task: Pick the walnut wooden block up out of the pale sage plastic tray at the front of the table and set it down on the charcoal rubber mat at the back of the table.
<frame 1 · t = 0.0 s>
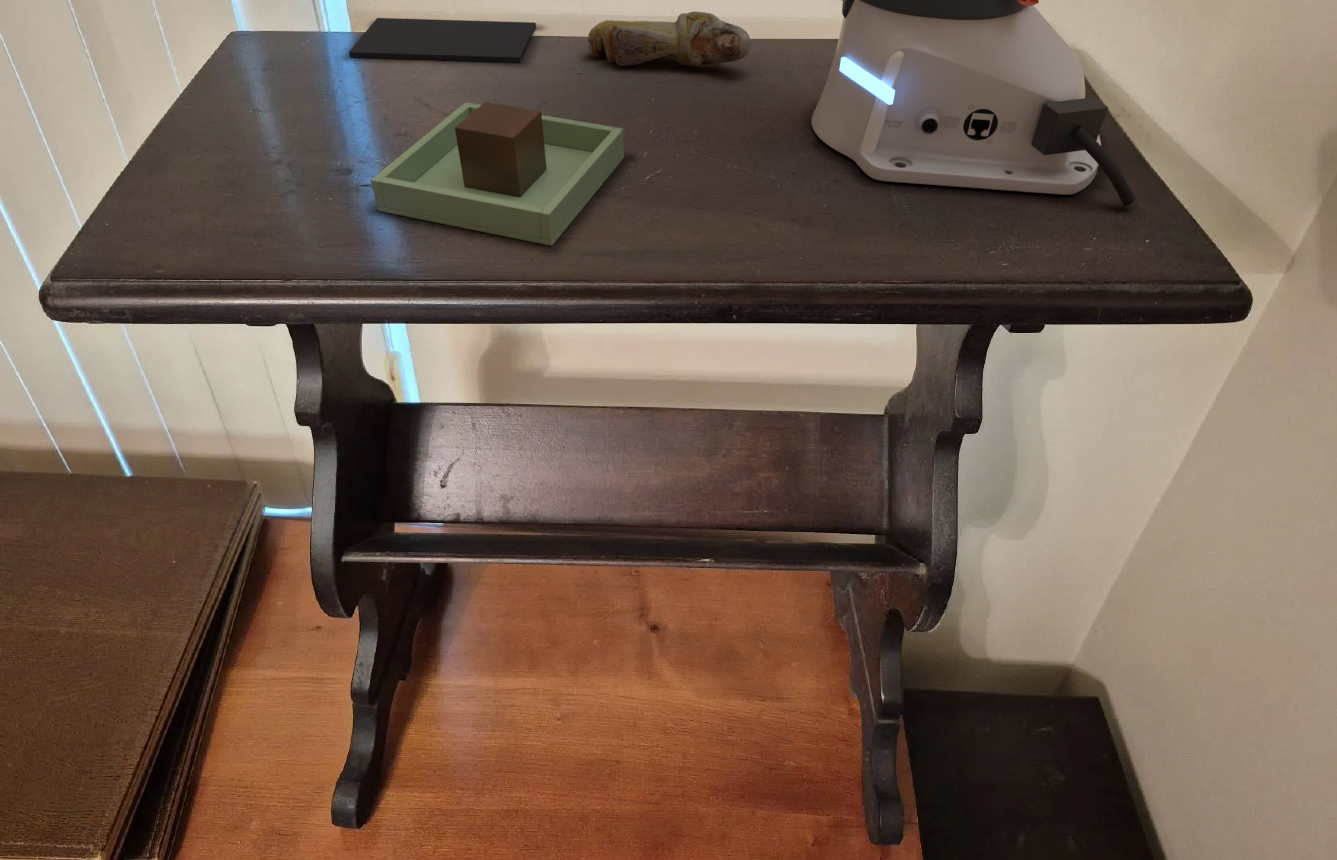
block: (506, 178, 64), resting on tray
figurine: (668, 67, 81), on the table
mat: (446, 41, 85), on the table
tray: (506, 183, 65), on the table
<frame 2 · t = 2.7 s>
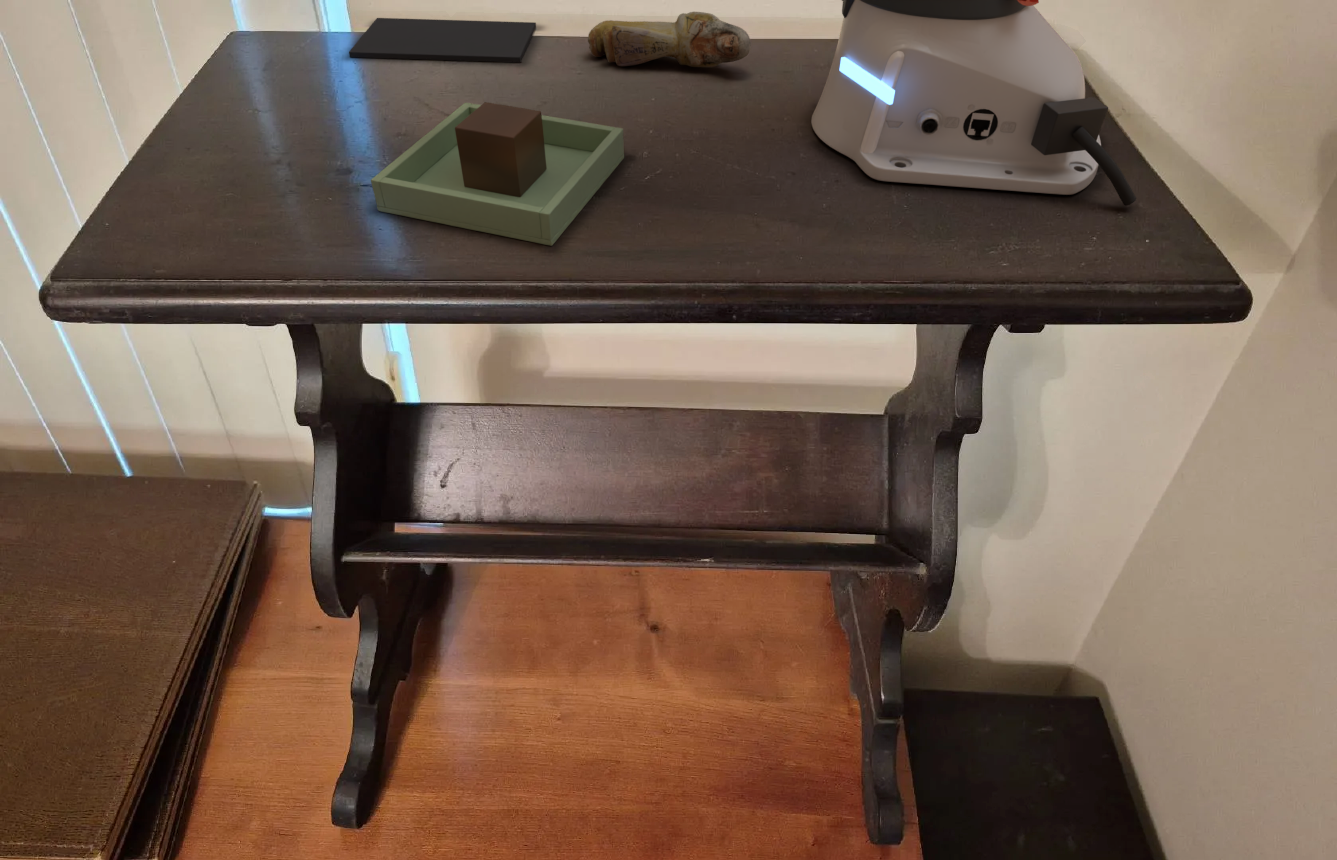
nothing on the table moved.
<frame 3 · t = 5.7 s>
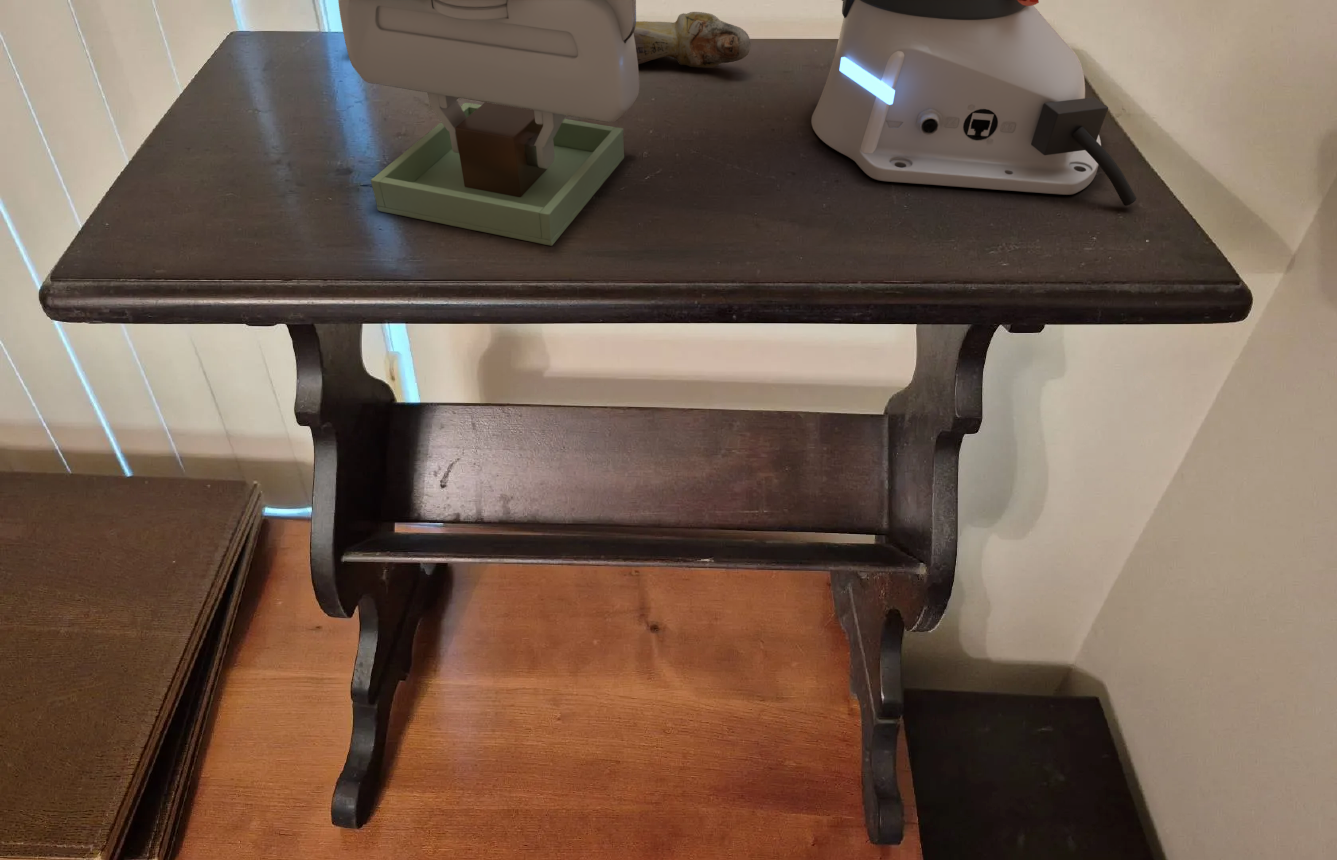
hand: (503, 157, 63), 2 cm above the table, tool pointing down, fingers closed on block, 4 cm apart
block: (506, 178, 64), resting on tray, touching gripper
everything else where it was.
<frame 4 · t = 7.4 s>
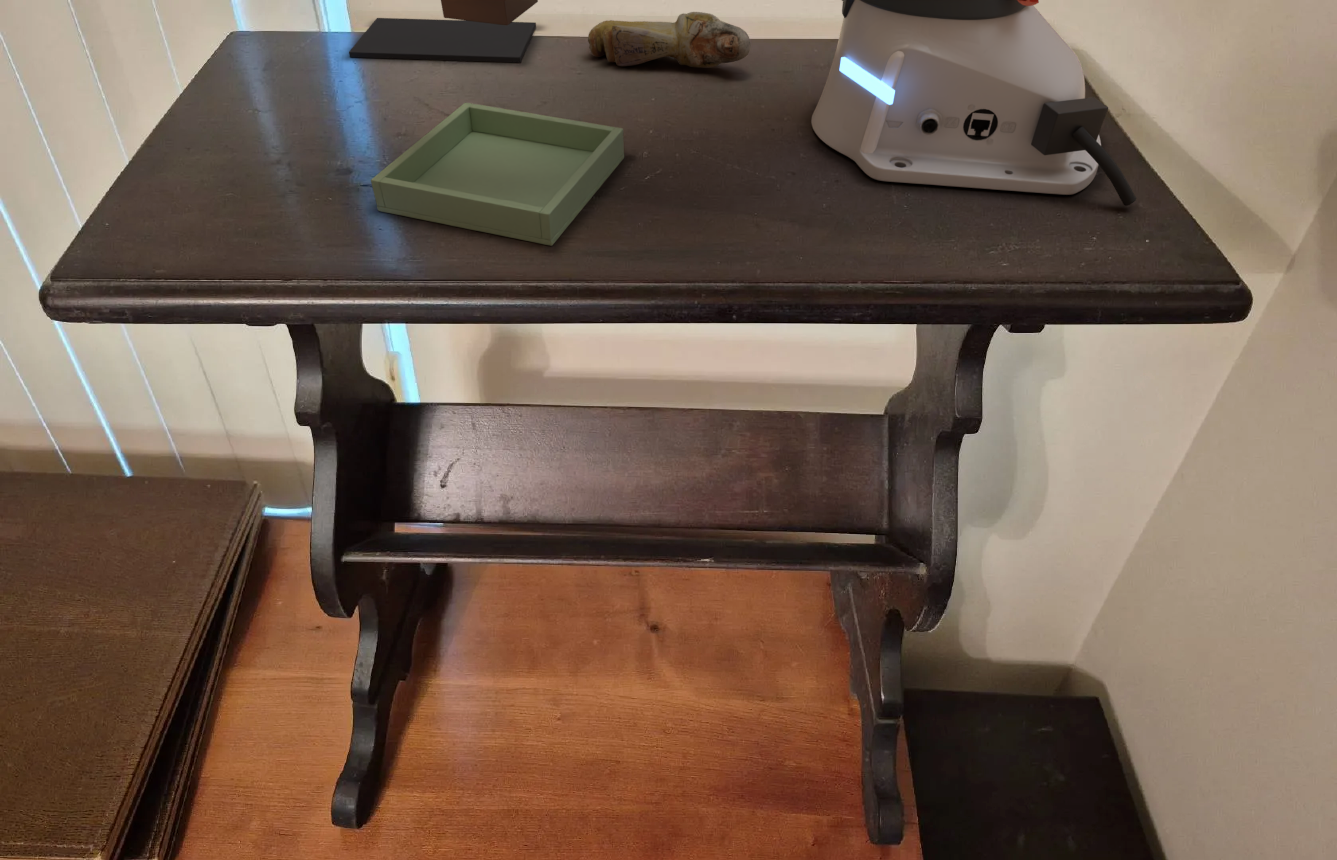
block: (491, 9, 56), point 12 cm above the table, touching gripper
everything else where it was.
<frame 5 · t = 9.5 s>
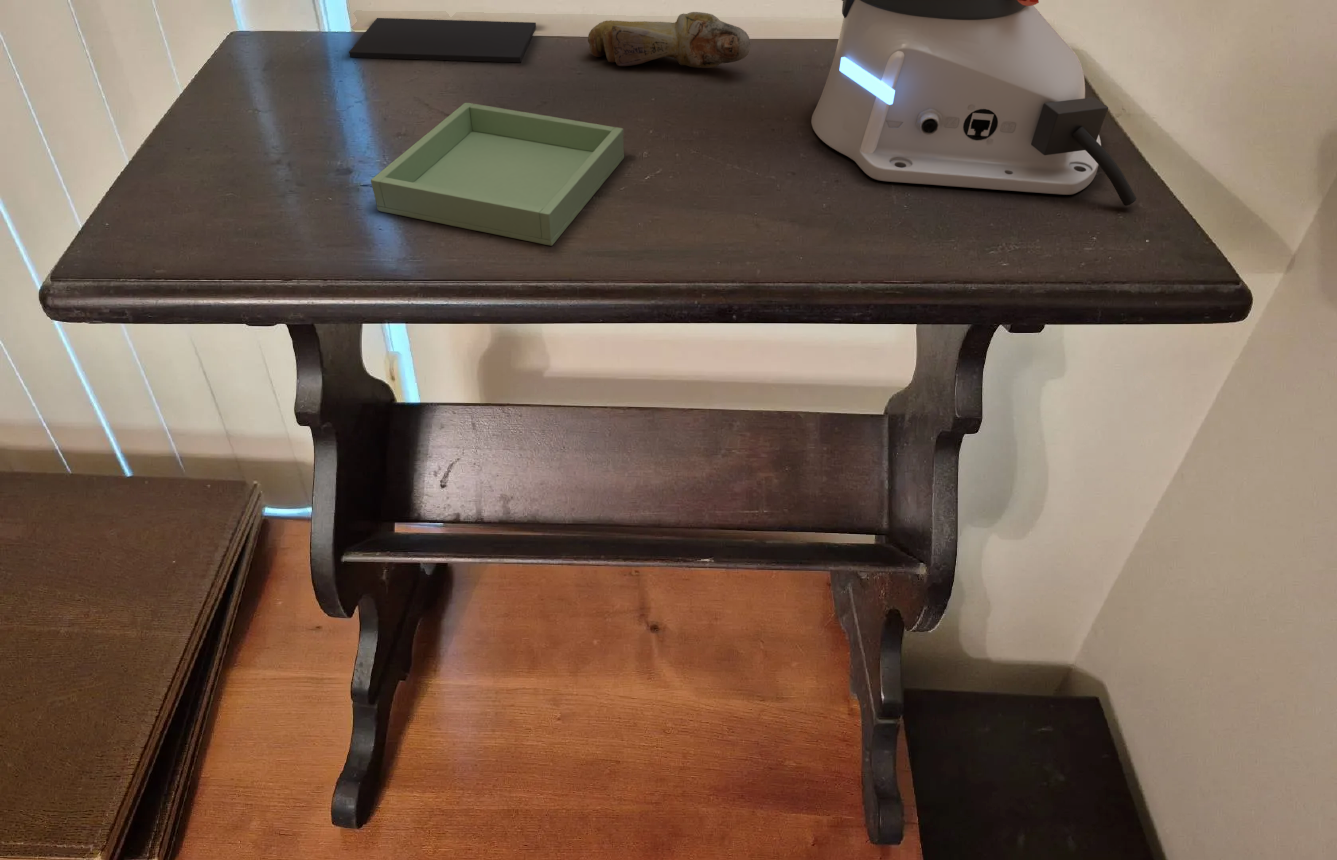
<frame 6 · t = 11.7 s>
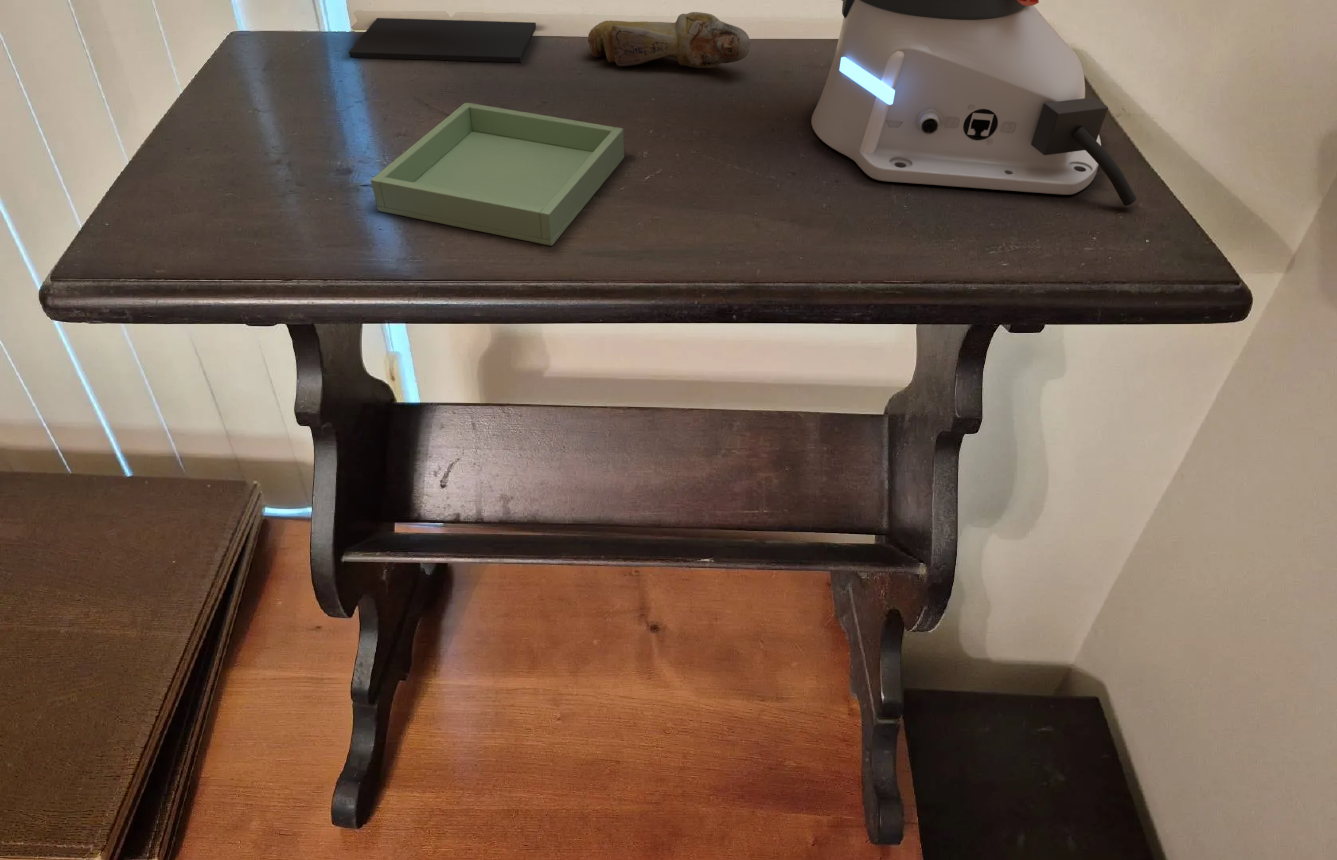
when the fingers open (2 cm above the table, at t = 13.5 s): block stays where it is, resting on mat.
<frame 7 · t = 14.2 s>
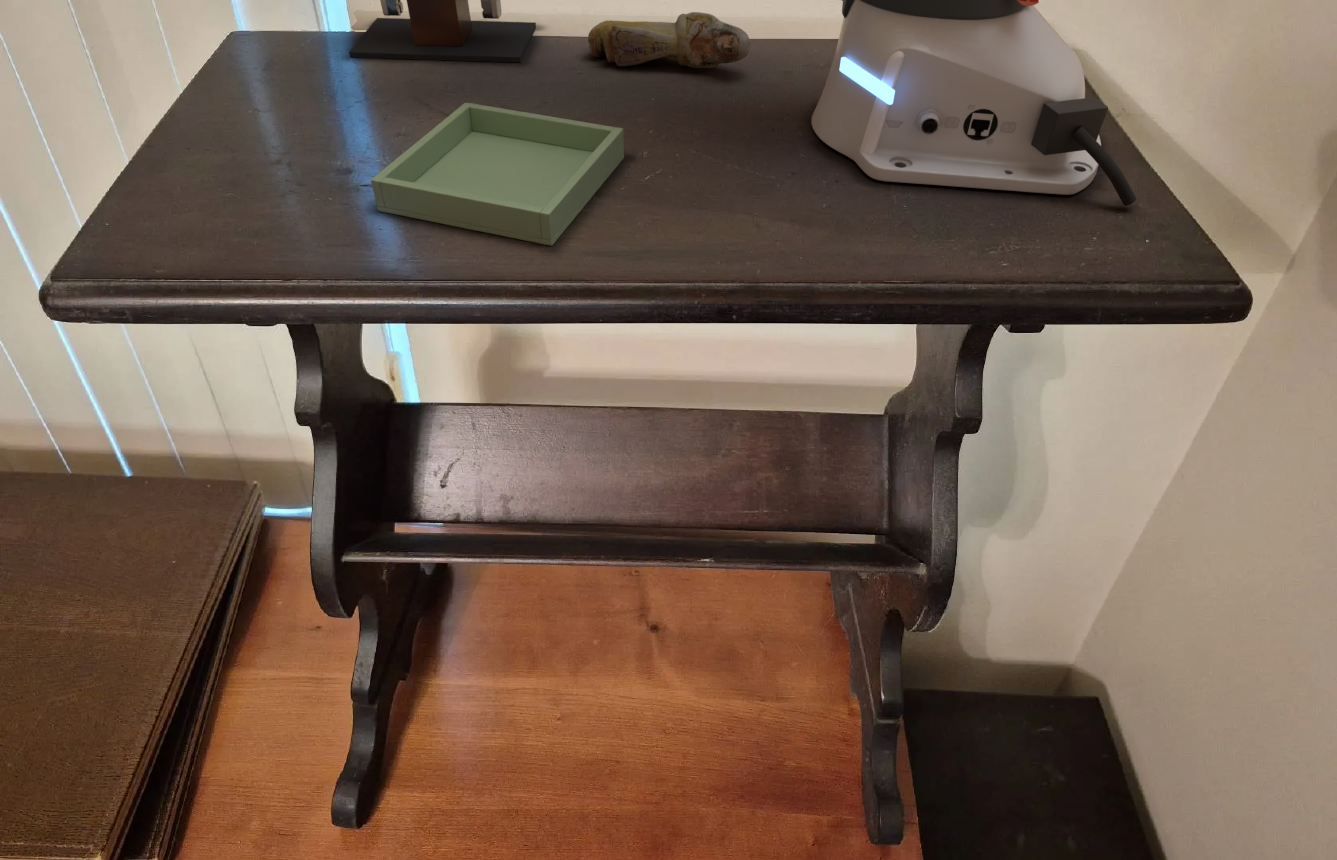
hand: (443, 15, 83), 2 cm above the table, tool pointing down, fingers open, 8 cm apart
block: (444, 37, 84), resting on mat
everything else where it was.
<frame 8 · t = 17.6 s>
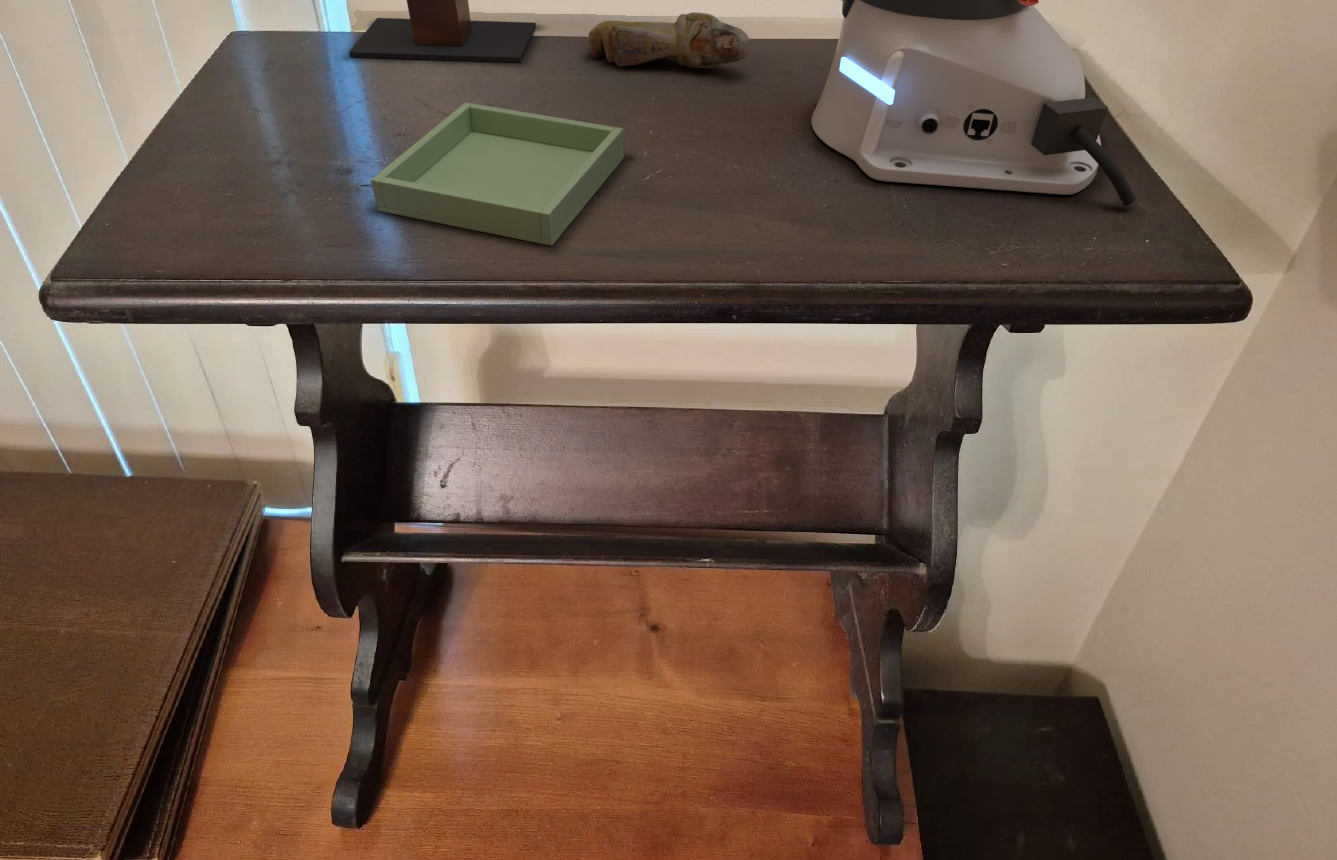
nothing on the table moved.
at the end: block inside the target area on the mat (0.2 cm from its centre), point 0.5 cm above the mat's base; block touching mat; the gripper is holding nothing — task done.
